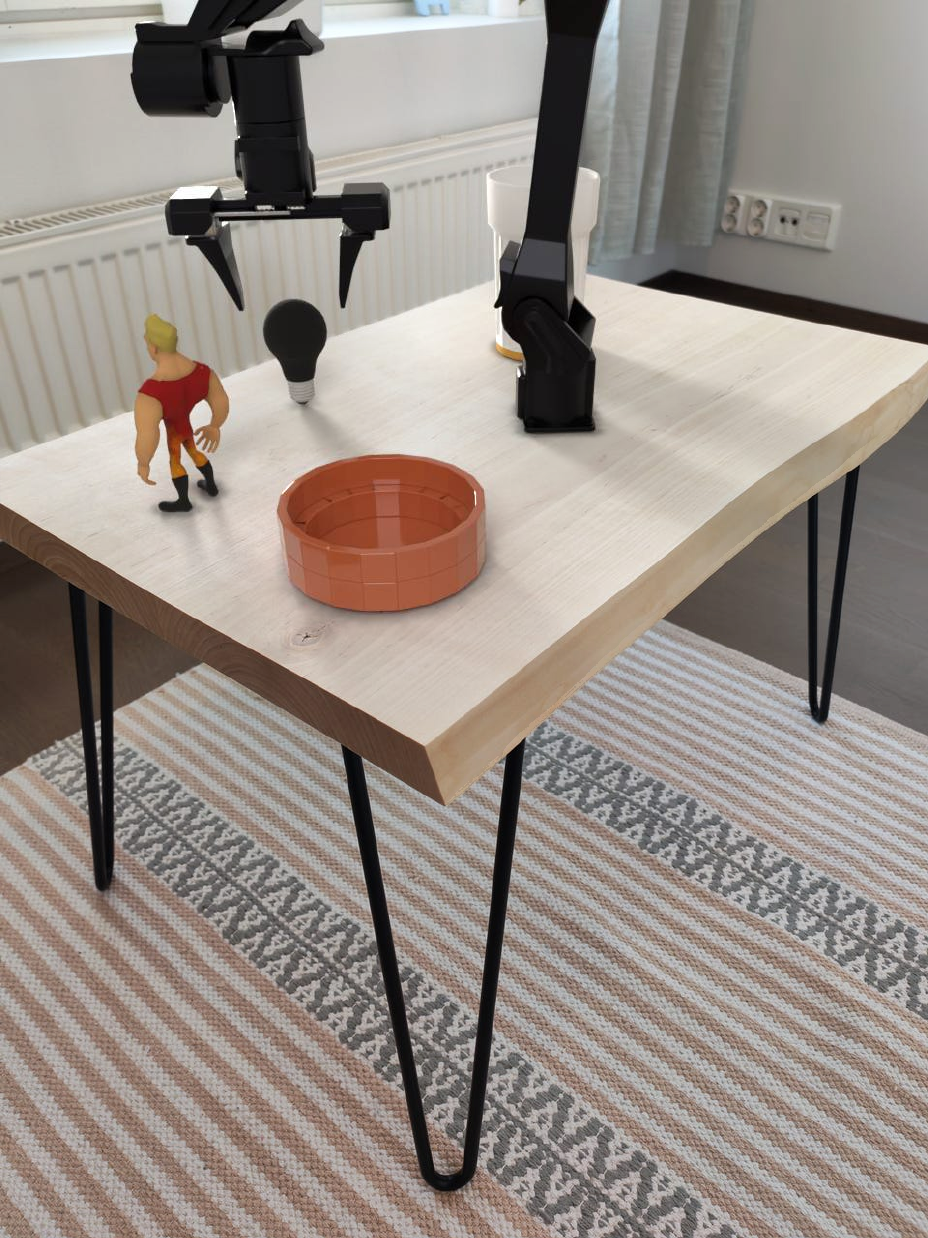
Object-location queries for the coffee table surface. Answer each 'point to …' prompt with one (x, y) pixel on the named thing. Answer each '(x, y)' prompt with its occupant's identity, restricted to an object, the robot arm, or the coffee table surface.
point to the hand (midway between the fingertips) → (292, 308)
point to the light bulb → (296, 343)
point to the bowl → (383, 531)
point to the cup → (509, 223)
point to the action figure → (176, 412)
